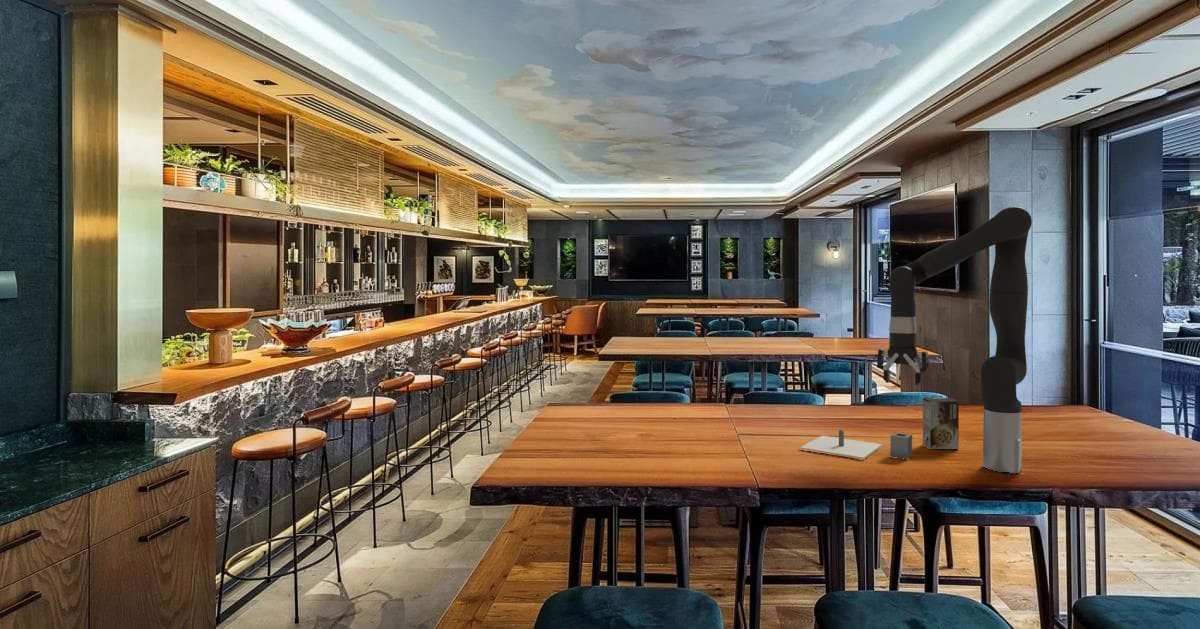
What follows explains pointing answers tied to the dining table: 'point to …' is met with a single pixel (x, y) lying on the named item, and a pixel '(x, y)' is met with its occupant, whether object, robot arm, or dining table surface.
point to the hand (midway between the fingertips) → (902, 383)
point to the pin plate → (842, 446)
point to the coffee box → (941, 423)
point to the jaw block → (901, 445)
